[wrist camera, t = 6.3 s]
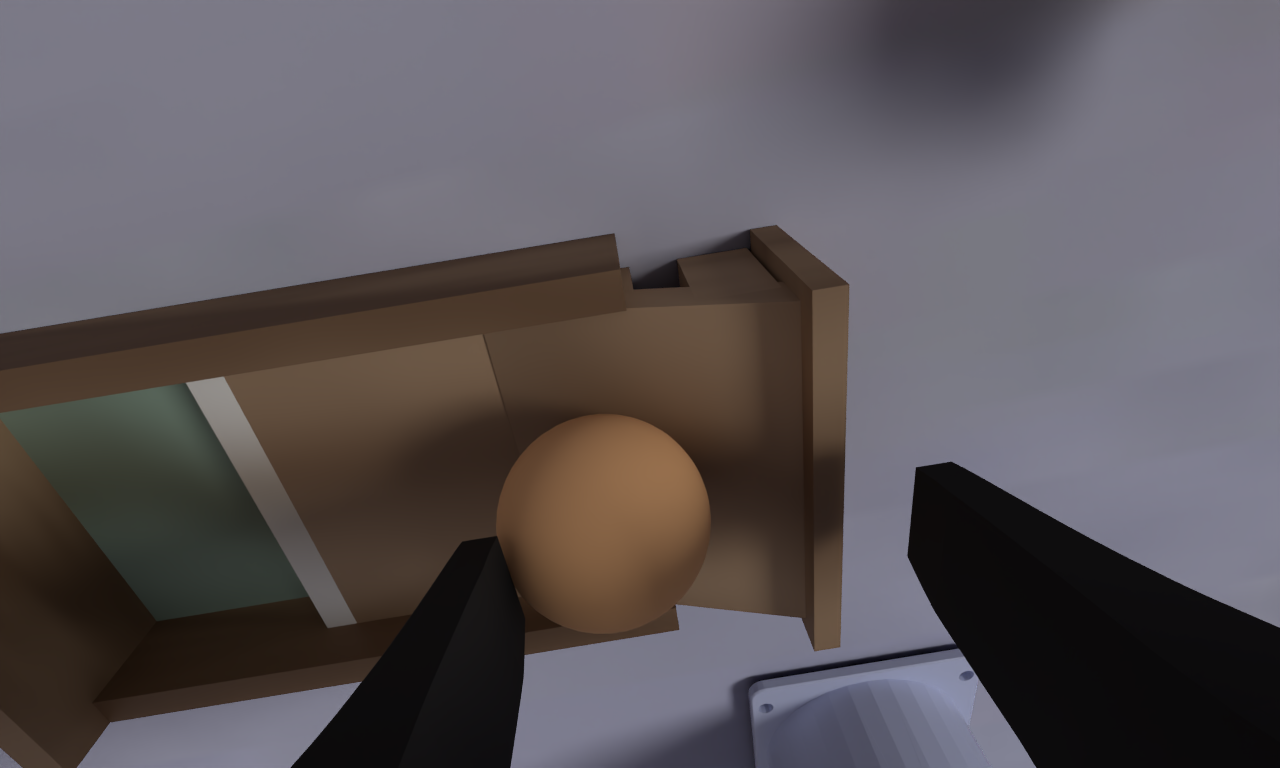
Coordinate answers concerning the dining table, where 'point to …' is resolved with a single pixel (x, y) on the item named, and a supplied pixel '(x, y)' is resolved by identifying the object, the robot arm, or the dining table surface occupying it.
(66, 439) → the wooden shadow box
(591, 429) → the ball
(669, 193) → the dining table surface
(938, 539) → the robot arm
